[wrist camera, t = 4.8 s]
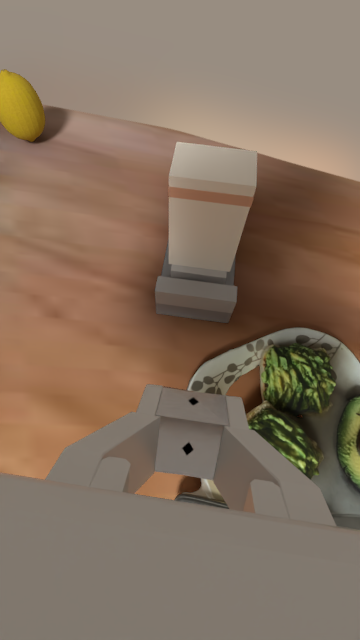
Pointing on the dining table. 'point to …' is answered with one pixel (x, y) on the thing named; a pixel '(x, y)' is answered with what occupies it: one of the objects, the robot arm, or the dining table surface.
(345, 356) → the salad plate
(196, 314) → the slider track
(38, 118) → the lemon
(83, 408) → the dining table surface
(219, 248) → the slider knob
